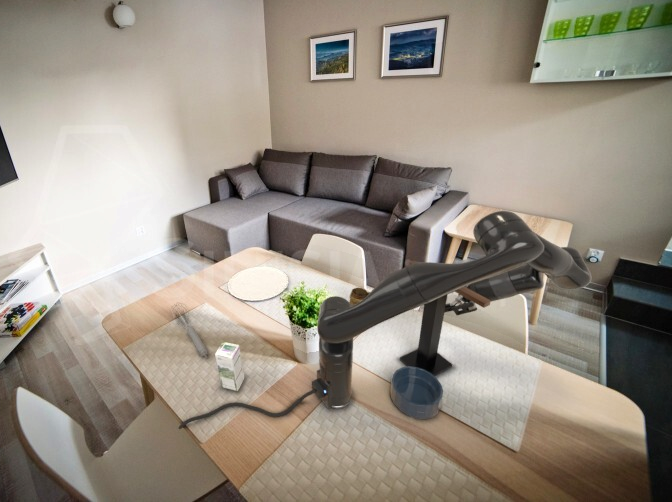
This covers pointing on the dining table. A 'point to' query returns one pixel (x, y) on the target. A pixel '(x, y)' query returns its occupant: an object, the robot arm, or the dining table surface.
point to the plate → (258, 283)
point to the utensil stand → (430, 340)
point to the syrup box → (230, 366)
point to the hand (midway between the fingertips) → (440, 300)
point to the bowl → (416, 392)
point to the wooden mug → (358, 295)
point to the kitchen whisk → (193, 335)
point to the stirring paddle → (469, 294)
